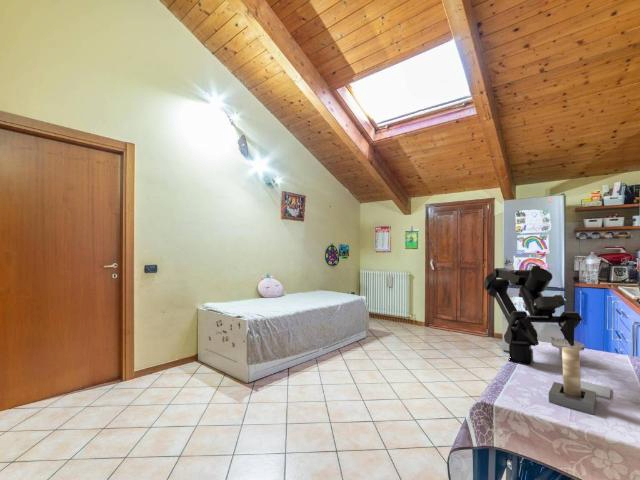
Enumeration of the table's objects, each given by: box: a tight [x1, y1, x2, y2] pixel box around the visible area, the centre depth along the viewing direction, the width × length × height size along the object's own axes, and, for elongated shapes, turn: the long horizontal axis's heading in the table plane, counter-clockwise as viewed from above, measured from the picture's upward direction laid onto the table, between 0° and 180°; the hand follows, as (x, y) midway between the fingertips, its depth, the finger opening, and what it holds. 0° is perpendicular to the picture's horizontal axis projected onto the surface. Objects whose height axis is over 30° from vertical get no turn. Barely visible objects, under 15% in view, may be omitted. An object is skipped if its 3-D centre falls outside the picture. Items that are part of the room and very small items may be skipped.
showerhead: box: [550, 336, 586, 356], centre depth 110 cm, size 9×7×10 cm
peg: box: [561, 347, 582, 398], centre depth 81 cm, size 4×4×14 cm
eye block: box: [548, 381, 597, 415], centre depth 81 cm, size 9×9×2 cm
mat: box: [580, 380, 612, 400], centre depth 87 cm, size 8×8×1 cm
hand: (555, 345), depth 88 cm, fingers open, 9 cm apart
